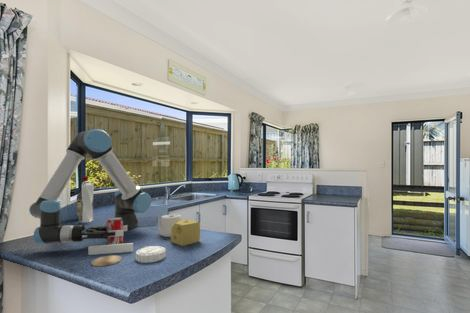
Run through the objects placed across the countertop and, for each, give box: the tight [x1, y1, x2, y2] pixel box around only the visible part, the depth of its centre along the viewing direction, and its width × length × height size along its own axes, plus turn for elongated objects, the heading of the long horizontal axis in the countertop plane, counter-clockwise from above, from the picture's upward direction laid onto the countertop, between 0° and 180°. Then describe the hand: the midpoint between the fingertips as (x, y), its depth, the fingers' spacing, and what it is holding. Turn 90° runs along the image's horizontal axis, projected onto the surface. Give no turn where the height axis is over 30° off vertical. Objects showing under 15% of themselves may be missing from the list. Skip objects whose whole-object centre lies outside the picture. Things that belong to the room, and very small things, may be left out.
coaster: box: [91, 254, 122, 268], centre depth 108 cm, size 11×11×1 cm
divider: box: [88, 242, 134, 256], centre depth 119 cm, size 18×1×4 cm, turn 101°
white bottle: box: [78, 180, 95, 223], centre depth 182 cm, size 8×8×28 cm
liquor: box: [76, 176, 94, 220], centre depth 195 cm, size 9×9×30 cm
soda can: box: [106, 216, 124, 245], centre depth 129 cm, size 7×7×13 cm
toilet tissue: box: [158, 213, 182, 238], centre depth 148 cm, size 11×12×10 cm
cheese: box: [170, 219, 201, 247], centre depth 134 cm, size 10×11×10 cm
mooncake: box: [135, 245, 167, 264], centre depth 112 cm, size 12×12×4 cm
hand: (125, 230), depth 130 cm, fingers open, 8 cm apart
